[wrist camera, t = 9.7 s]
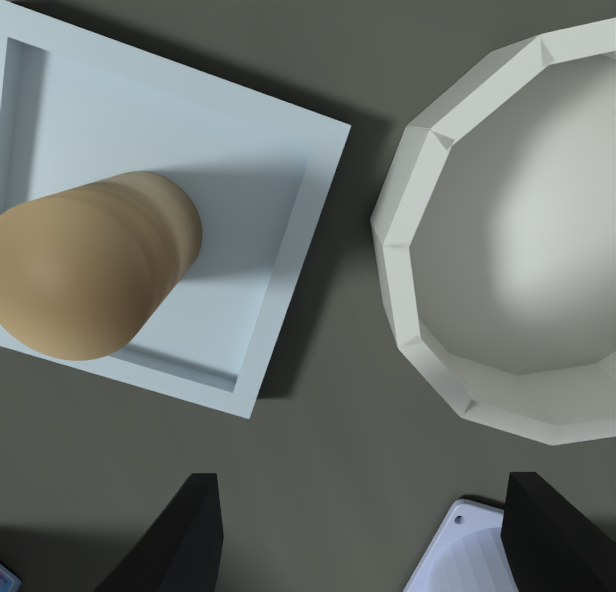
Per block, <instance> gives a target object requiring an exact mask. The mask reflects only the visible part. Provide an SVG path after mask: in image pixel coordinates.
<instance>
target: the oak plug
mask: <svg viewBox="0 0 616 592" xmlns="http://www.w3.org/2000/svg"><path fill="white" fill-rule="evenodd" d="M201 243H202V224H201V220H200V217H199V214H198V211H197V209H196V207H195V205H194V203H193V202H192V200H191V199H190V197H189V196H188V195H187V194H186V193H185V192H184V191H183V190H182V189H181V188H180V187H179V186H178V185H176V184H175V183H174V182H172V181H171V180H169V179H167V178H165V177H163V176H160V175H158V174H154V173H150V172H143V171H132V172H126V173H122V174H119V175H116V176H112V177H109V178H106V179H102V180H99V181H95V182H92V183H89V184H85V185H82V186H79V187H75V188H72V189H69V190H65V191H62V192H58V193H55V194H52V195H48V196H45V197H42V198H38V199H35V200H32V201H28V202H25V203H22V204H19V205H16V206H14V207H12V208H10V209H8V210H7V211H5V212H4V213H3V214H1V215H0V324H1V325H2V327H3V328H4V329H5V330H6V331H7V332H9V333H10V334H11V335H12V336H13V337H14V338H16V339H17V340H18V341H20V342H21V343H22V344H24V345H26V346H28V347H29V348H31V349H33V350H35V351H37V352H39V353H42V354H44V355H47V356H50V357H53V358H58V359H63V360H71V361H86V360H93V359H98V358H102V357H105V356H108V355H110V354H112V353H114V352H116V351H118V350H120V349H121V348H123V347H124V346H125V345H126V344H128V343H129V342H130V341H131V340H132V339H133V338H134V337H135V335H136V334H137V333H138V332H139V331H140V329H141V328H142V327H143V326H144V324H145V323H146V322H147V321H148V319H149V318H150V317H151V316H152V314H153V313H154V312H155V311H156V309H157V308H158V307H159V306H160V304H161V303H162V302H163V301H164V299H165V298H166V297H167V296H168V294H169V293H170V292H171V291H172V290H173V288H174V287H175V286H176V285H177V283H178V282H179V281H180V280H181V278H182V277H183V276H184V275H185V273H186V272H187V271H188V270H189V268H190V267H191V266H192V264H193V263H194V262H195V260H196V258H197V256H198V254H199V251H200V248H201Z"/></svg>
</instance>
